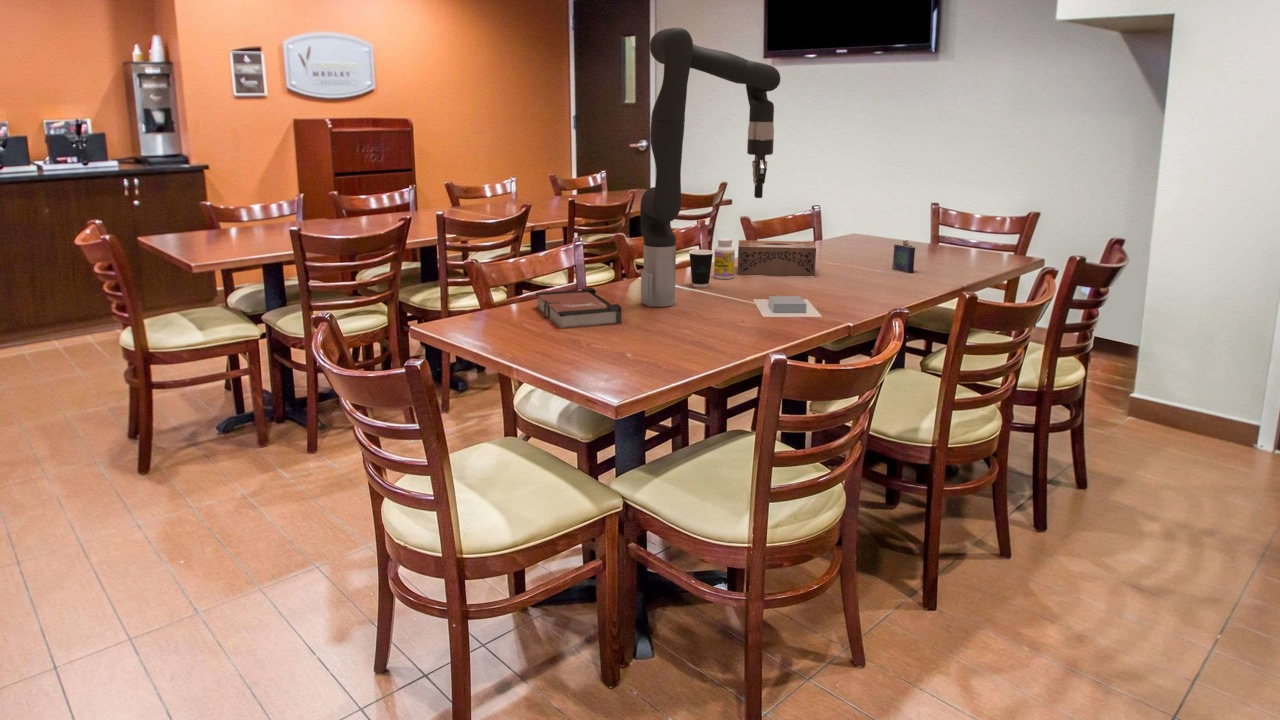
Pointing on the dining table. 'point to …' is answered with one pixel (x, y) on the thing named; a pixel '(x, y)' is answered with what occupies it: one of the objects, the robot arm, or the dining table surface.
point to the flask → (903, 257)
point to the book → (578, 308)
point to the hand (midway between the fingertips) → (758, 197)
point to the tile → (787, 304)
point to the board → (767, 311)
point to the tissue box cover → (776, 258)
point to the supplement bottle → (724, 259)
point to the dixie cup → (700, 267)
